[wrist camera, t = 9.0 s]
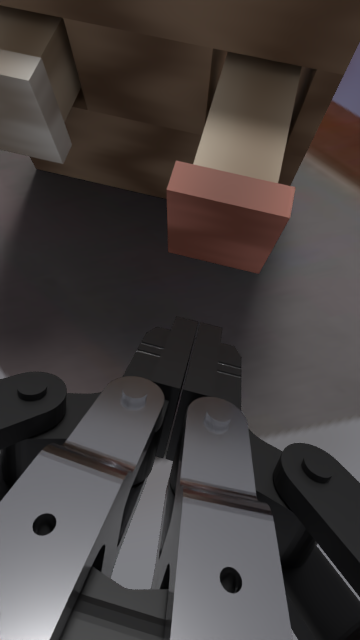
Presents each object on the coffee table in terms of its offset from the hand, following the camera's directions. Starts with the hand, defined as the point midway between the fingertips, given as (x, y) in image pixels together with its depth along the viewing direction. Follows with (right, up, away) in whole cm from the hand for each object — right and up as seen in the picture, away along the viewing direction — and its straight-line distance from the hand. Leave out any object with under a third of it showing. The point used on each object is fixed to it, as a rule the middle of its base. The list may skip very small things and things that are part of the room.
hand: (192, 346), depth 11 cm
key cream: (-7, +13, +6) cm, 16 cm away
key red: (+2, +8, +5) cm, 9 cm away
